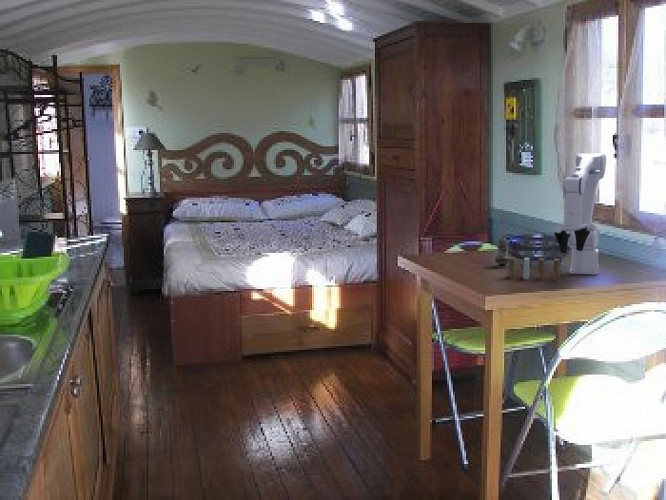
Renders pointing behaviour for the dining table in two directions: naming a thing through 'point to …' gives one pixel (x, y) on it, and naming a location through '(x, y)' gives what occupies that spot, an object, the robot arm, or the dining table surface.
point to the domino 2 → (526, 268)
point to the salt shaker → (502, 254)
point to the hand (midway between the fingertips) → (571, 251)
